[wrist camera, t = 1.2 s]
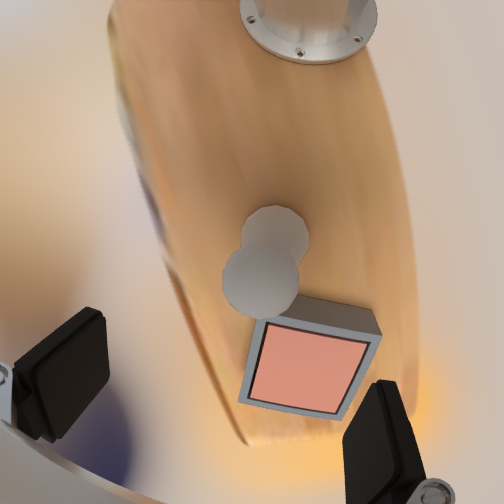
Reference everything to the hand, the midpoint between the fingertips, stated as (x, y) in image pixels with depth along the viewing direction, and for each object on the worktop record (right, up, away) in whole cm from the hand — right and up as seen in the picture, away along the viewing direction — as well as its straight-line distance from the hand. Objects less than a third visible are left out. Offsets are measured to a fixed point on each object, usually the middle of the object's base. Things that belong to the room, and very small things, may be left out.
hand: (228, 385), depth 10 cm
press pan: (+6, -7, +18) cm, 20 cm away
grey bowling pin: (+3, +6, +19) cm, 20 cm away
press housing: (+6, -5, +22) cm, 24 cm away
